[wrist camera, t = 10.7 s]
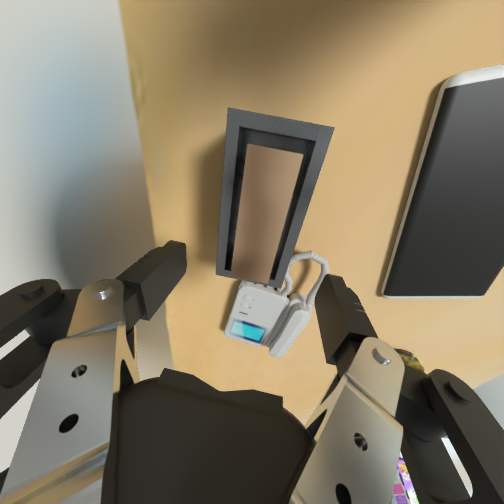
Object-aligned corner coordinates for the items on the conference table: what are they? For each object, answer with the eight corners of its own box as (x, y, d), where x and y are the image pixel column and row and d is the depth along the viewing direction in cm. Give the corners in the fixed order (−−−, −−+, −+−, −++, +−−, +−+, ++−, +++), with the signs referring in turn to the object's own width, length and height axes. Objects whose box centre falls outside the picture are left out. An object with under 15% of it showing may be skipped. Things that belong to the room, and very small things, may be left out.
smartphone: (377, 293, 30) (382, 300, 29) (437, 79, 17) (452, 72, 16) (472, 292, 28) (483, 300, 26) (627, 43, 15) (667, 31, 13)
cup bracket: (315, 134, 20) (334, 127, 13) (280, 254, 28) (280, 288, 21) (245, 120, 20) (227, 107, 13) (231, 243, 28) (215, 274, 22)
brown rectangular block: (297, 152, 17) (303, 154, 12) (269, 258, 23) (267, 283, 19) (255, 144, 17) (247, 143, 13) (239, 251, 23) (230, 275, 19)
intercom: (352, 269, 23) (282, 363, 36) (342, 252, 27) (282, 343, 40) (255, 238, 23) (219, 344, 36) (258, 225, 27) (225, 326, 40)
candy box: (379, 457, 65) (407, 542, 51) (392, 454, 62) (425, 543, 48) (410, 468, 67) (445, 553, 53) (424, 465, 64) (465, 555, 50)
